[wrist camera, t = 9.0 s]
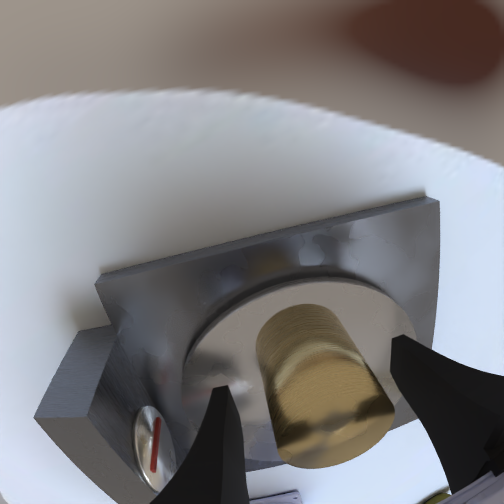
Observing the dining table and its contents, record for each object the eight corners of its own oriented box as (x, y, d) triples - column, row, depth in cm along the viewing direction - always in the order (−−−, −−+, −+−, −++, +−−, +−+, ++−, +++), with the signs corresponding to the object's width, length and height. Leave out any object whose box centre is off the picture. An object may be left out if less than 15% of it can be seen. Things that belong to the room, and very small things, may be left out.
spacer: (346, 360, 16) (391, 443, 11) (267, 385, 16) (289, 478, 10) (336, 291, 15) (397, 374, 9) (244, 319, 14) (264, 420, 9)
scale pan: (401, 416, 20) (405, 423, 19) (221, 467, 20) (221, 475, 19) (415, 246, 15) (423, 251, 14) (143, 315, 15) (140, 323, 14)
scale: (411, 409, 22) (449, 467, 16) (169, 470, 22) (167, 539, 15) (426, 196, 16) (518, 234, 9) (56, 286, 15) (-6, 363, 9)
